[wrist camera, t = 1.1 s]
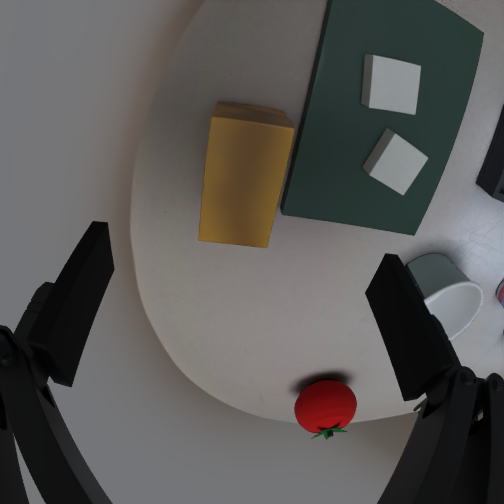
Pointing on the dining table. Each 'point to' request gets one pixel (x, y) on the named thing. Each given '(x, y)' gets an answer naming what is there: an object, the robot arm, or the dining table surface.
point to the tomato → (325, 407)
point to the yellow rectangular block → (243, 173)
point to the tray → (494, 165)
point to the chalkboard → (379, 111)
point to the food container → (446, 292)
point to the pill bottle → (501, 293)
